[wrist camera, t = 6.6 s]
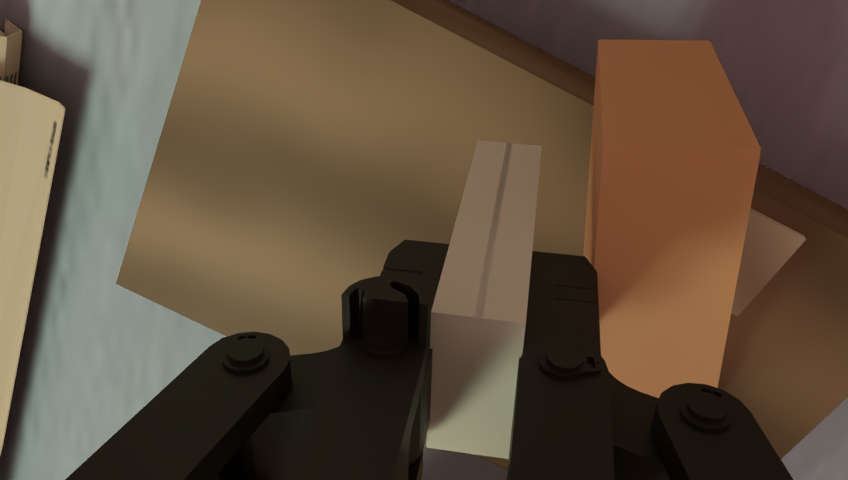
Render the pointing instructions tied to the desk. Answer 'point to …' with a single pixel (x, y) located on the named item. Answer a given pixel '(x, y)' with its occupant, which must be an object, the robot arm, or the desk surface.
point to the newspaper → (21, 201)
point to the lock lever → (666, 209)
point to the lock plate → (427, 185)
